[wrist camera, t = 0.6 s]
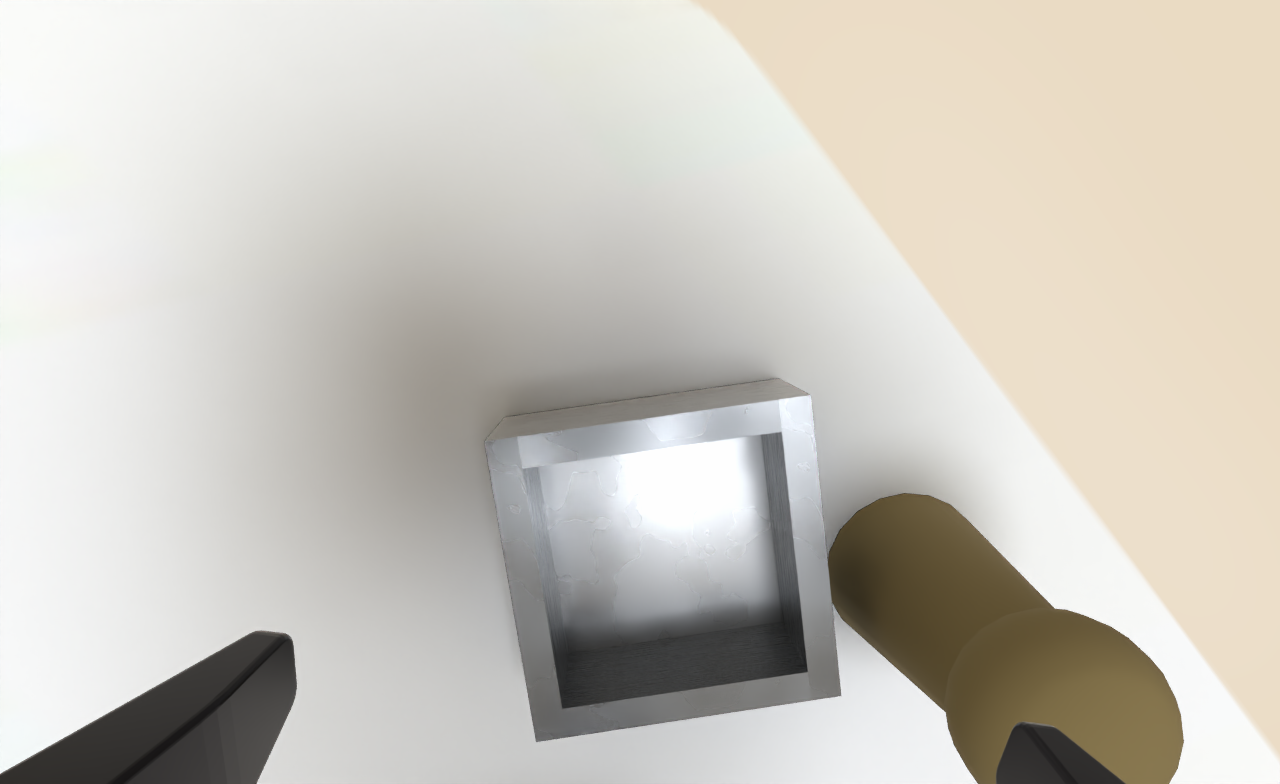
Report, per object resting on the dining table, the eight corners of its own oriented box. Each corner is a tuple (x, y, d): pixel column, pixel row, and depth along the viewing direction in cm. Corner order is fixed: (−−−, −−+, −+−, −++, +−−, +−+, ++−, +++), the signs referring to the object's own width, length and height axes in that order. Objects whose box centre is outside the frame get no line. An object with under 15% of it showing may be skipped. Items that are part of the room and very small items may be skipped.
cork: (794, 561, 26) (921, 750, 16) (921, 461, 26) (1144, 583, 15) (888, 674, 27) (1071, 928, 16) (1012, 578, 27) (1284, 774, 16)
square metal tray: (806, 634, 27) (841, 696, 23) (547, 673, 27) (536, 741, 23) (778, 378, 25) (811, 394, 21) (504, 417, 25) (484, 441, 21)
